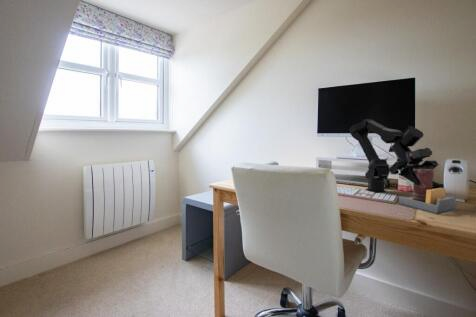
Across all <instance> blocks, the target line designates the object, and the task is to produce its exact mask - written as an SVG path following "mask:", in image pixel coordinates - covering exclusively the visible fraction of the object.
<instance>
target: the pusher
mask: <svg viewBox="0 0 476 317" xmlns="http://www.w3.org/2000/svg"><path fill="white" fill-rule="evenodd" d="M445 193H446V188H445V187H438V188H432V189H429V190H426V203H429V204H433V205H436V202H437V200H439V199H444V198H445V196H446V194H445Z"/></svg>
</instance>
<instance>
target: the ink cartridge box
mask: <svg viewBox="0 0 476 317" xmlns="http://www.w3.org/2000/svg"><path fill="white" fill-rule="evenodd" d="M414 170H415V169H414ZM398 171H399V172H398V174H399V173H400V170H398ZM413 184H414V183H413V182H411V181H410V180H408V179H406V178H404V177H402V176H399V175H398V184H397V185H398V187H397V190H398V191H401V190H402V191H401V192H405V193H407V192H408V193H409V192H413Z"/></svg>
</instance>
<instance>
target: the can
mask: <svg viewBox="0 0 476 317" xmlns="http://www.w3.org/2000/svg"><path fill="white" fill-rule="evenodd" d="M434 170H435V169H431V168H425V167H418V168H415V170H414V173H415V175H416V177H417V178H418V180H419V182H420V185H416V184H415V183H414V184H413V191H412V198H413V200H416V201H420V202H425V203H426V190H429V189H433V182H434V180H433V179H434V176H435V172H434Z"/></svg>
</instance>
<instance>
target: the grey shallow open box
mask: <svg viewBox="0 0 476 317" xmlns="http://www.w3.org/2000/svg"><path fill="white" fill-rule="evenodd" d="M456 199H457V198H456V196H449V197H444V199H439V200H437V202H436V205H433V204H429V203H425V202H420V201H416V200H413V197H409V198H407V197H403V196H399V197H398V205H400V206H404V207H408V208H412V209H414V210H415V209H416V210H419V211H423V212H426V213H431V214H433V215H440V214H445V213H449V212H454V211H456V210H457V202H456Z"/></svg>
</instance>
